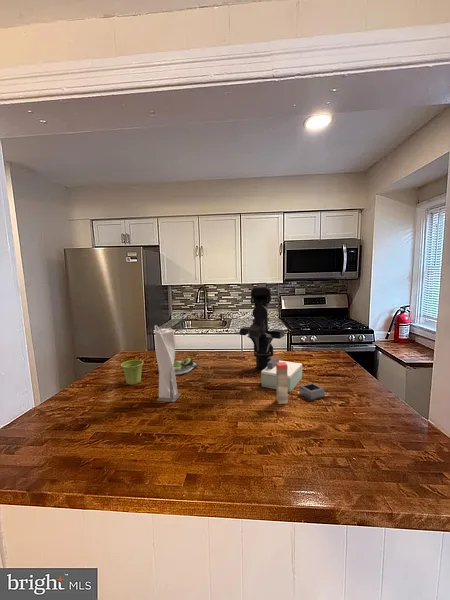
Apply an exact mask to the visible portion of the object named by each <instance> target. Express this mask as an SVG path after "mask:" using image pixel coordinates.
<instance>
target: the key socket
mask: <svg viewBox="0 0 450 600" xmlns="http://www.w3.org/2000/svg"><path fill="white" fill-rule="evenodd" d="M298 387H299V390H298V392H299V394H300V395H301V396H303V397H305V398H307V399H308V400H310V401H314V400H317V399H320V398H324V397H325V396H326V395H325V394H326V392H325V389H326V388H324V387H322V386H320V385H319V384H317V383H314V382H310V383H306V384H302V385H299V386H298Z"/></svg>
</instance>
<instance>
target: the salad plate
mask: <svg viewBox="0 0 450 600" xmlns="http://www.w3.org/2000/svg"><path fill="white" fill-rule="evenodd" d="M199 365H200V363H195V362H194V361H193V359H192V358H191V357H186V358H184V359H183V360H174V365H173V368H174V372H175V376H180V375H186V374H188V373H189V372H191V371H193V370H194V369H196V368H197V367H198V366H199ZM192 369H193V370H192ZM157 371H158V372H159V368H157Z"/></svg>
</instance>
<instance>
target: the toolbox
mask: <svg viewBox="0 0 450 600" xmlns="http://www.w3.org/2000/svg"><path fill="white" fill-rule="evenodd" d="M260 376H261V378H260V379H261V387H264V388H269V389H275V390H276V376H272V375H266V374H261V375H260ZM302 379H303V366H302V367H301V368H300V369H299V370H298V371H297V372H296V373H295V374H294V375H293V376H292V377H291V378H290V379H289V378H287V382H288V393H290V392H292V391H293V389H294V388H295V387H296V386H297V385H298V384H299V383H300V382H301V380H302Z"/></svg>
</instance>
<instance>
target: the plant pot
mask: <svg viewBox="0 0 450 600" xmlns="http://www.w3.org/2000/svg"><path fill="white" fill-rule="evenodd" d="M143 365H144V361H143V360H142V359H131V360H126V361H124V362H121V364H120V367H121V368H122V370H123V374H124V378H125V382H126V384H127V385H131V386H132V385H137V384H139V383H141V381H142V370H143Z"/></svg>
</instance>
